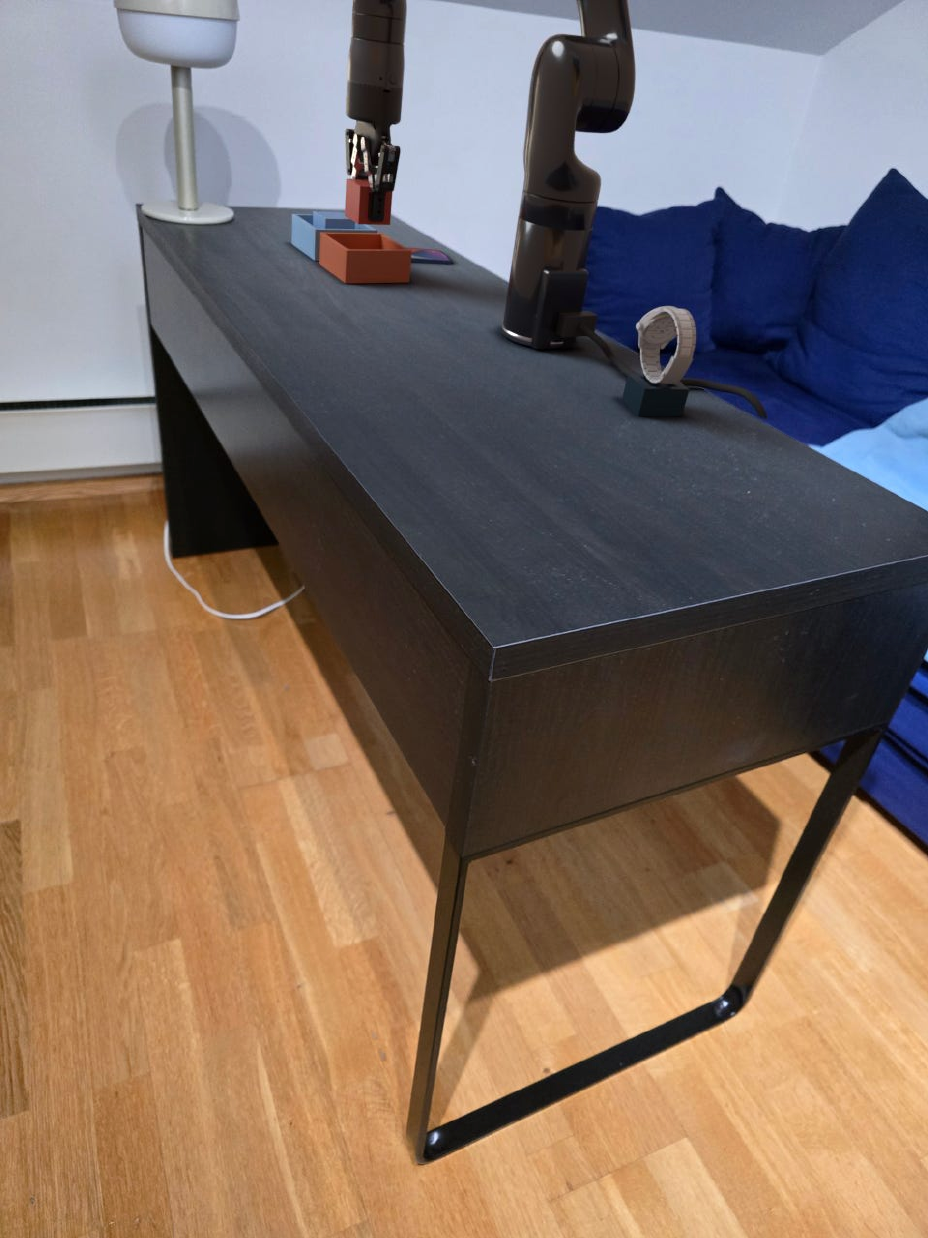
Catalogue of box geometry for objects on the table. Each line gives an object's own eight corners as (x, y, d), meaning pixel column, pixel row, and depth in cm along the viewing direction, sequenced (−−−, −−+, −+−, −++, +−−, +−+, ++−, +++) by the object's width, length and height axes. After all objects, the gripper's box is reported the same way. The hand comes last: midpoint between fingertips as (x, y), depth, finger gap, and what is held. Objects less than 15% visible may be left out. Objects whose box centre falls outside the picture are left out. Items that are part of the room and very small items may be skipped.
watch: (656, 394, 103) (681, 298, 97) (689, 422, 97) (718, 321, 91) (613, 394, 101) (636, 296, 95) (644, 422, 95) (670, 319, 89)
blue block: (353, 252, 139) (355, 219, 136) (324, 252, 137) (325, 218, 134) (341, 244, 142) (343, 211, 140) (312, 244, 140) (313, 210, 137)
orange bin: (409, 282, 131) (411, 250, 128) (345, 283, 126) (346, 250, 123) (380, 263, 138) (382, 233, 135) (319, 263, 133) (319, 232, 130)
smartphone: (452, 267, 144) (453, 261, 143) (362, 261, 138) (363, 254, 138) (439, 256, 149) (439, 249, 149) (352, 249, 144) (352, 242, 143)
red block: (390, 224, 127) (393, 187, 124) (358, 224, 125) (360, 185, 122) (376, 216, 131) (378, 179, 128) (344, 215, 128) (346, 178, 125)
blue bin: (375, 260, 139) (377, 230, 136) (314, 260, 134) (315, 229, 132) (350, 244, 146) (351, 214, 143) (291, 243, 141) (291, 213, 138)
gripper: (329, 70, 121) (325, 204, 131) (371, 85, 111) (363, 228, 121) (379, 75, 124) (371, 205, 134) (424, 90, 115) (412, 229, 124)
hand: (367, 215), depth 127 cm, fingers closed on red block, 5 cm apart
